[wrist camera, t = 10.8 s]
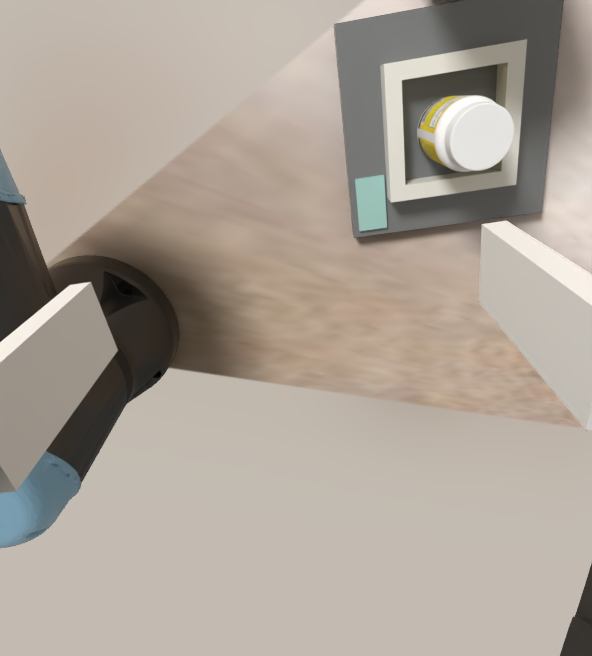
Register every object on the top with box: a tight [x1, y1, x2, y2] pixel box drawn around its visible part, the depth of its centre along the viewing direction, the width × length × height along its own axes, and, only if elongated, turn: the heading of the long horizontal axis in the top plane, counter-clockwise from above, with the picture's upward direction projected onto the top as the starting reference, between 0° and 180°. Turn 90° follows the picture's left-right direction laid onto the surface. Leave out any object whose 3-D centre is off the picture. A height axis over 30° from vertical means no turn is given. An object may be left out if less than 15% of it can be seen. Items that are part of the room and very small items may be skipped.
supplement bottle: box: [417, 95, 515, 172], centre depth 32 cm, size 5×5×8 cm
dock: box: [334, 0, 563, 238], centre depth 35 cm, size 16×16×3 cm
